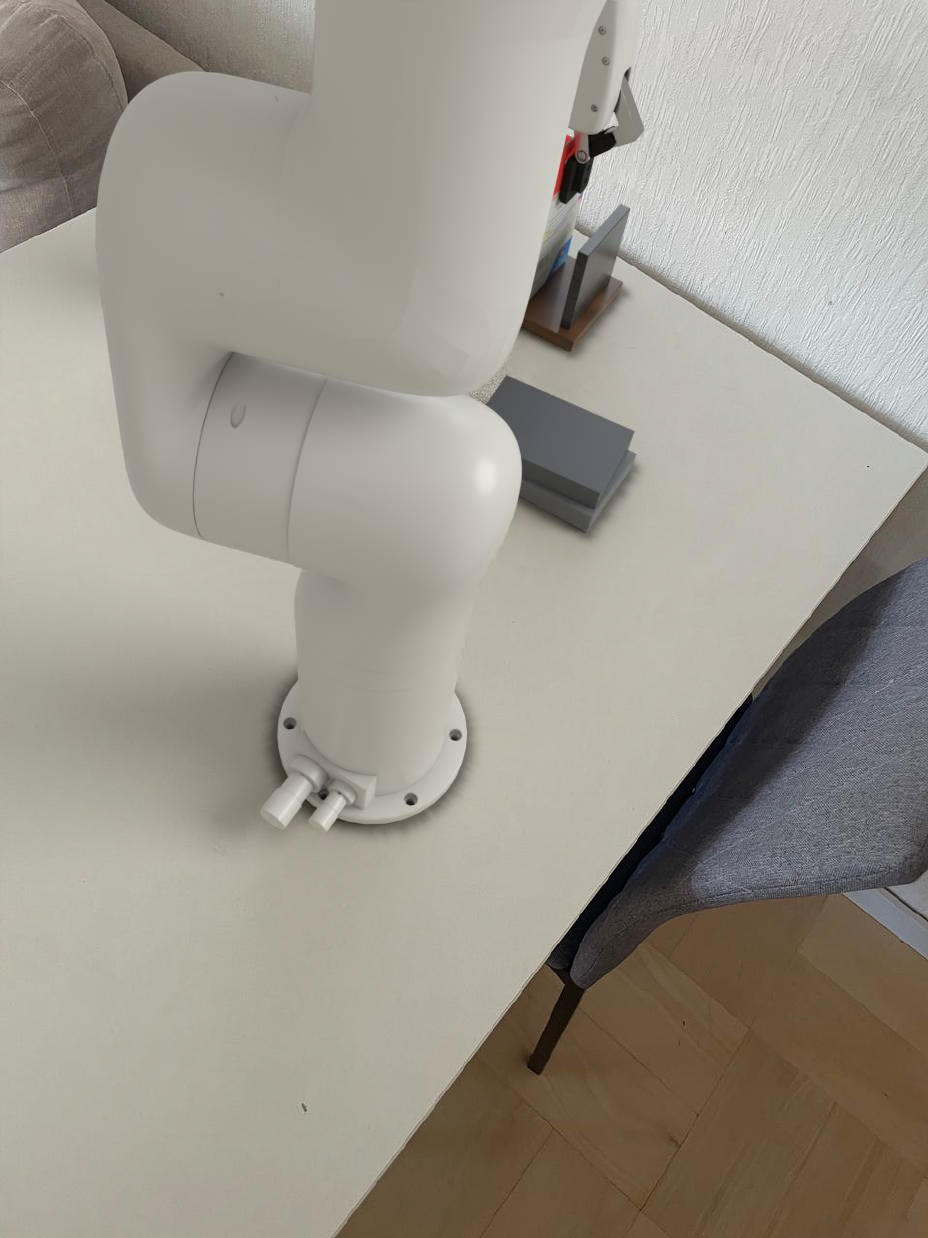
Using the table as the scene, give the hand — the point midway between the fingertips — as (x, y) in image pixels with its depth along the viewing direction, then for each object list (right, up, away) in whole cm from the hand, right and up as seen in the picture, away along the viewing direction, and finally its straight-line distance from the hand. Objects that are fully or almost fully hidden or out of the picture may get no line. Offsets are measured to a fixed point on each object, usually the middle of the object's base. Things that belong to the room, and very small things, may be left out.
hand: (541, 179), depth 85 cm
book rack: (-4, -4, +10) cm, 12 cm away
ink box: (-1, -5, +8) cm, 10 cm away
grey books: (0, -24, -2) cm, 24 cm away
